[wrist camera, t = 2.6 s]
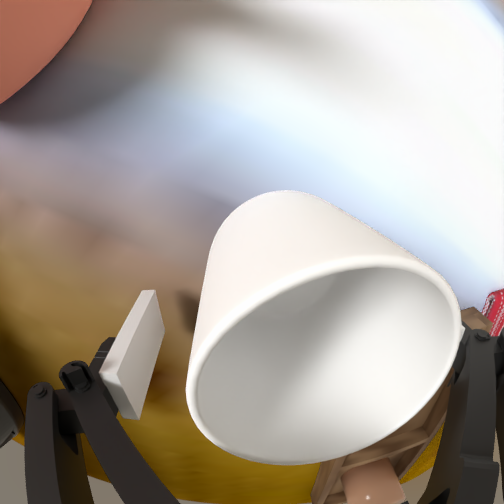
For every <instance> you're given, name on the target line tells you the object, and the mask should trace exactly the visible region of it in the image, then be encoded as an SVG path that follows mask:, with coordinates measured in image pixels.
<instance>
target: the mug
mask: <svg viewBox="0 0 504 504" xmlns="http://www.w3.org/2000/svg"><path fill="white" fill-rule="evenodd" d="M461 325H462V322H461V312H460V308H459V304H458V301H457V298H456V296H455V294H454V292H453V290H452V288H451V287H450V285H449V284H448V283H447V281H446V280H445V279H444V278H443V277H442V276H441V275H440V274H439V273H438V272H436V271H435V270H434V269H432V268H431V267H430V266H428V265H427V264H426V263H424V262H423V261H421V260H420V259H418V258H417V257H415V256H414V255H412V254H411V253H409V252H408V251H407V250H405V249H404V248H402V247H400V246H399V245H397V244H396V243H394V242H393V241H391V240H390V239H388V238H387V237H385V236H384V235H382V234H380V233H379V232H377V231H376V230H374V229H372V228H371V227H369V226H368V225H366V224H364V223H363V222H361V221H360V220H358V219H356V218H355V217H353V216H351V215H350V214H348V213H346V212H344V211H343V210H341V209H339V208H338V207H336V206H334V205H332V204H331V203H329V202H327V201H326V200H324V199H322V198H319V197H317V196H314V195H312V194H308V193H304V192H300V191H292V190H283V191H274V192H268V193H265V194H262V195H259V196H256V197H254V198H252V199H250V200H248V201H246V202H245V203H243V204H242V205H240V206H239V207H238V208H237V209H235V210H234V211H233V212H232V213H231V214H230V215H229V216H228V217H227V218H226V219H225V221H224V222H223V224H222V225H221V227H220V228H219V230H218V232H217V234H216V236H215V238H214V240H213V243H212V246H211V249H210V252H209V257H208V262H207V267H206V272H205V278H204V283H203V288H202V293H201V299H200V304H199V310H198V315H197V321H196V326H195V332H194V338H193V344H192V350H191V356H190V362H189V369H188V375H187V383H186V397H187V404H188V407H189V410H190V414H191V416H192V418H193V420H194V422H195V424H196V425H197V427H198V428H199V429H200V431H201V432H202V433H203V434H204V435H205V436H206V437H207V438H208V439H209V440H210V441H211V442H212V443H214V444H215V445H217V446H218V447H220V448H221V449H223V450H225V451H227V452H229V453H231V454H233V455H235V456H238V457H241V458H244V459H247V460H251V461H255V462H259V463H266V464H274V465H301V464H310V463H317V462H322V461H327V460H331V459H335V458H339V457H342V456H345V455H348V454H351V453H354V452H356V451H359V450H361V449H363V448H366V447H368V446H370V445H372V444H374V443H376V442H378V441H380V440H381V439H383V438H385V437H386V436H388V435H390V434H391V433H393V432H394V431H396V430H397V429H398V428H400V427H401V426H403V425H404V424H405V423H406V422H408V421H409V420H410V419H411V418H412V417H413V416H415V415H416V414H417V413H418V412H419V411H420V410H421V409H422V408H423V407H424V406H425V405H426V404H427V403H428V401H429V400H430V399H431V398H432V397H433V396H434V394H435V393H436V392H437V390H438V389H439V387H440V386H441V385H442V383H443V381H444V380H445V378H446V376H447V375H448V373H449V371H450V369H451V367H452V364H453V362H454V360H455V357H456V354H457V351H458V348H459V343H460V338H461Z"/></svg>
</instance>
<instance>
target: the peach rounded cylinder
mask: <svg viewBox="0 0 504 504" xmlns="http://www.w3.org/2000/svg"><path fill="white" fill-rule="evenodd" d="M340 480H341V483H342V486H343V490H344V493H345V496H346V500H347V503H348V504H401V503H402V502H403V501H405V500H406V497H405V495H404V492H403V489H402V487H401V485H400V482H399V480H398V478H397V475H396V473H395V471H394V468H393V466H392V464H391V461H390V459H389V458H387V457H386V458H383V459H380V460H377V461H373V462H370V463H367V464H364V465H360V466H357V467H353V468H351V469H350V470H348V471H347V472H345V473H344V474H343V475H342V476H341V478H340Z"/></svg>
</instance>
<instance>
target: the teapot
mask: <svg viewBox="0 0 504 504" xmlns="http://www.w3.org/2000/svg"><path fill="white" fill-rule="evenodd" d="M92 1H93V0H0V104H1V103H2V102H4V101H5V100H7V99H8V98H9V97H11V96H12V95H13V94H15V93H16V92H17V91H18V90H19V89H21V88H22V87H23V86H24V85H26V84H27V83H28V82H29V81H30V80H31V79H32V78H33V77H34V76H36V75H37V74H38V73H39V72H40V71H41V70H42V69H43V68H44V67H45V66H46V65H47V64H48V63H49V62H50V61H51V60H52V59H53V58H54V57H55V56H56V55H57V53H58V52H59V51H60V50H61V49H62V48H63V47H64V45H65V44H66V43H67V42H68V40H69V39H70V38H71V36H72V35H73V33H74V32H75V31H76V29H77V28H78V26H79V24H80V23H81V21H82V20H83V18H84V16H85V14H86V12H87V10H88V9H89V7H90V5H91V3H92Z"/></svg>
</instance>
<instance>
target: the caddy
mask: <svg viewBox="0 0 504 504" xmlns="http://www.w3.org/2000/svg"><path fill="white" fill-rule="evenodd" d="M460 312H461V320H462V321H463V322H465V323H466V324H467V325H468V326H469V327H470V328H471V329H472V330H473V329H482V330H485V331H487V332H488V333H490V331H491V328H492V325H493V323H492V322H491V321H490V320H489V319H488V318H487V317H485V316H484V315H483V314H482V313H481V312H479V311H478V310H477V309H476V308H475V307H471V308H468V309H465V310H461V311H460ZM453 372H454V368H453V367H451V369H450V371H449V373H448V375H447V376H446V378H445V380H444V381H443V383H442V385H441V386H440V387H439V389H438V390H437V392H436V393H435V394H434V396H433V397H432V398H431V399H430V400H429V401H428V403H427V404H426V405H425V406H424V407H423V408H422V409H421V410H420V411H419V412H418V413H417V414H416V415H415V416H413V417H412V418H411V419H410V420H409V421H408V422H406V423H405V424H404V425H403V426H401V427H400V428H398V429H397V430H396V431H394V432H393V433H391V434H390V435H388V436H386V437H385V438H383V439H381V440H380V441H378V442H376V443H374V444H372V445H370V446H368V447H366V448H363V449H361V450H359V451H356V452H354V453H351V454H348V455H345V456H342V457H339V458H335V459H331V460H327V461H322V462H321V465H320V469H319V472H318V475H317V478H316V481H315V484H314V487H313V490H312V492H311V500H312V504H343V503H347V500H346V496H345V493H344V490H343V486H342V483H341V480H340V478H341V476H342V475H343V474H344V473H345V472H347V471H348V470H350V469H351V468H353V467H357V466H360V465H364V464H367V463H370V462H373V461H377V460H380V459H383V458H386V457H387V458H389V459H390V461H391V464H392V466H393V468H394V471H395V473H396V475H397V478H398V480H400V479H401V478H402V477H403V476H404V475H405V474H406V472H407V471H408V470H409V469H410V468H411V466H412V465H413V464H414V463H415V461H416V460H417V459H418V458H419V456H420V455H421V454H422V452H423V451H424V450H425V448H426V447H427V446H428V444H429V443H430V442H431V440H432V439H433V437H434V436H435V434H436V433H437V432H438V430H439V429H440V427H441V426H442V424H443V422H444V421H445V418H446V413H447V407H448V401H449V395H450V388H451V384H450V385H449V387H447V385H448V383H449V380H450V378H451V376H452V374H453Z"/></svg>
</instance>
